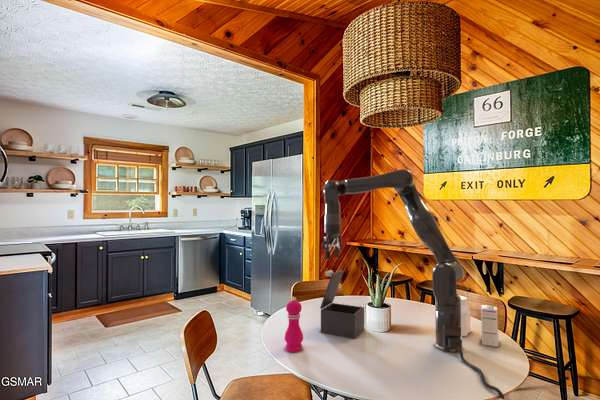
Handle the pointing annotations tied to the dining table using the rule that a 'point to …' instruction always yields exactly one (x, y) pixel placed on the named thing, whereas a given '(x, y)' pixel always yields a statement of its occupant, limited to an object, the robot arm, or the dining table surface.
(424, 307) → the dining table surface
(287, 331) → the pepper mill
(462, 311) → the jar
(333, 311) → the dark lidded box
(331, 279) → the lid
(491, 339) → the syrup box
